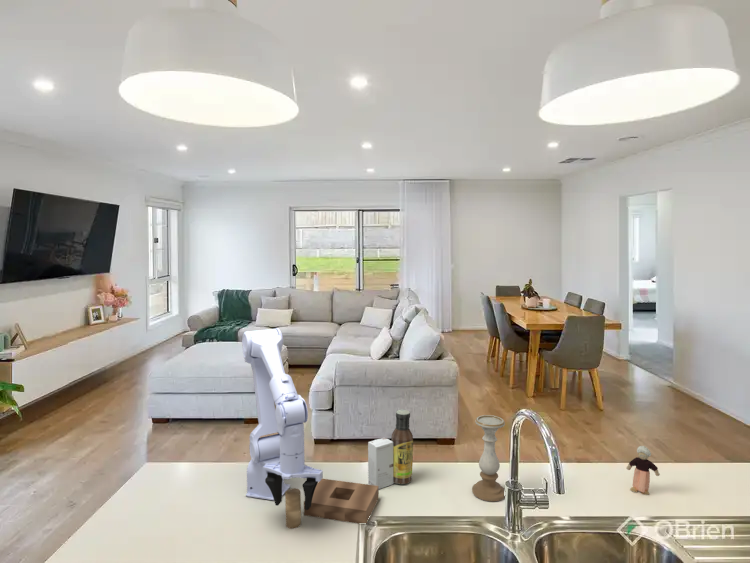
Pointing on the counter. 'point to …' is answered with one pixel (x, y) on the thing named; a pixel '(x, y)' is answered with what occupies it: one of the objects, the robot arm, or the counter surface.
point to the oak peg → (293, 508)
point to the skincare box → (380, 462)
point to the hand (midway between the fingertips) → (293, 505)
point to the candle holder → (489, 461)
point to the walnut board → (343, 501)
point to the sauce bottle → (402, 448)
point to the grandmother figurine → (642, 470)
